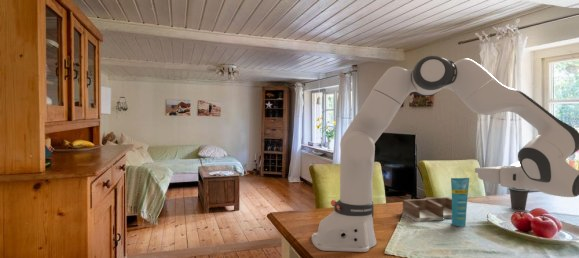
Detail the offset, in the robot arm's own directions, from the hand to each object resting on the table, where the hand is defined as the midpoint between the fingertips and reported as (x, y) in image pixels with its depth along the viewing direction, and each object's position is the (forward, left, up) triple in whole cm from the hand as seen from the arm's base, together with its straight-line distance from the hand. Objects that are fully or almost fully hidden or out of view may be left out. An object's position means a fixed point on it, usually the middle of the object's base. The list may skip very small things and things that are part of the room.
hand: (486, 169), depth 117 cm
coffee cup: (+41, +29, -25) cm, 56 cm away
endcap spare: (0, +25, -24) cm, 35 cm away
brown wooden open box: (-11, +23, -24) cm, 36 cm away
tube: (-2, +11, -25) cm, 27 cm away
